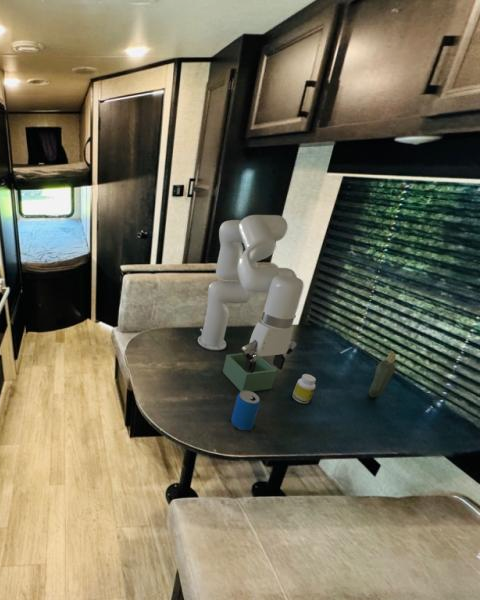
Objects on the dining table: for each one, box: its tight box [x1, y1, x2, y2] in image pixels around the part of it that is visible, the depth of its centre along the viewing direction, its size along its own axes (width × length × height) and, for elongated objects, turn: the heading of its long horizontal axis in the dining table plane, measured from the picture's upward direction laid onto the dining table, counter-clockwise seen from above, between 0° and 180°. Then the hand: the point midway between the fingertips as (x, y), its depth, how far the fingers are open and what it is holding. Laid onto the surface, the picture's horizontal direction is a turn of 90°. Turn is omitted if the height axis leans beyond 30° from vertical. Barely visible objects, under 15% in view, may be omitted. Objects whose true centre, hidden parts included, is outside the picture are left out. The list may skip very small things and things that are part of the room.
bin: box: [222, 352, 278, 392], centre depth 123 cm, size 13×13×9 cm
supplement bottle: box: [291, 373, 317, 404], centre depth 113 cm, size 5×5×10 cm
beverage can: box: [230, 390, 261, 431], centre depth 102 cm, size 6×6×12 cm
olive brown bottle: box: [368, 349, 396, 398], centre depth 111 cm, size 4×4×20 cm
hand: (262, 368), depth 95 cm, fingers open, 9 cm apart
